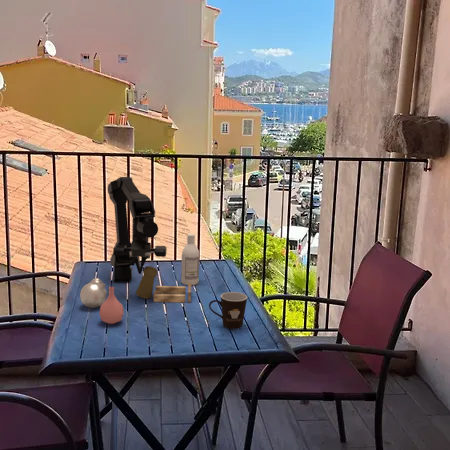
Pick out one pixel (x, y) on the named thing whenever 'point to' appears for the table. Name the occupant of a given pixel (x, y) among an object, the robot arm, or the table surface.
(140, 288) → the cork
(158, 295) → the cradle
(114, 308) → the pink bulb vase
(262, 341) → the table surface
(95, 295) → the silver christmas ornament
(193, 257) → the bath foam
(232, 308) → the coffee mug
